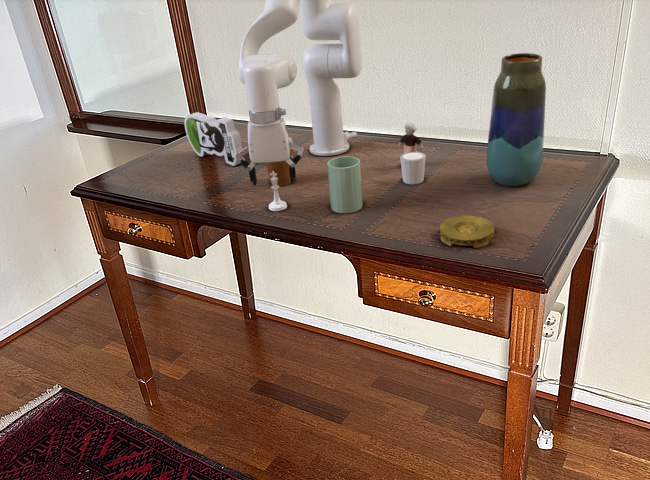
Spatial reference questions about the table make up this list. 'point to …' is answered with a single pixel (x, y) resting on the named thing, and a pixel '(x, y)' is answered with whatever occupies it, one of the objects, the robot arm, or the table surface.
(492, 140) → the vase
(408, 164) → the shot glass
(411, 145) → the grandmother figurine
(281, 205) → the chess piece
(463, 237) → the compass
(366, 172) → the table surface
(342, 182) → the tube
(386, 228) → the table surface
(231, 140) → the cutout
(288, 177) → the disposable coffee cup
